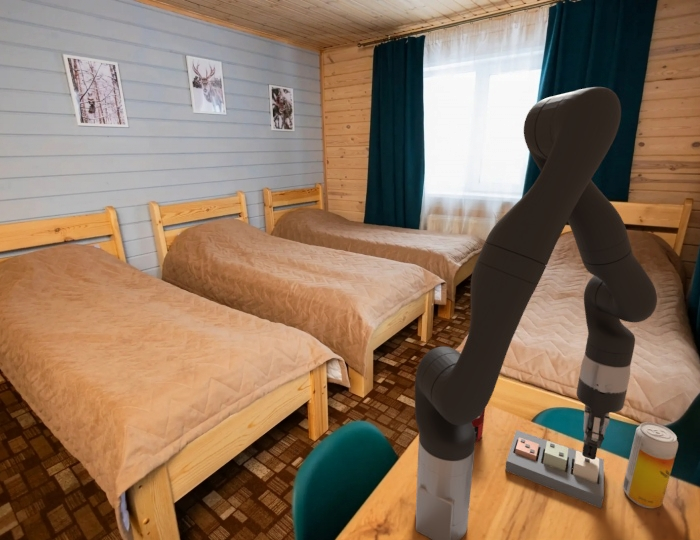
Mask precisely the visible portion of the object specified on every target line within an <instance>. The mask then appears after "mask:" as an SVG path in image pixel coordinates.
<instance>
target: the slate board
mask: <svg viewBox="0 0 700 540" xmlns="http://www.w3.org/2000/svg"><path fill="white" fill-rule="evenodd" d="M519 437H520V438H523V439H526V440H528V441H531V442H534V443H537V444H539V447H538V454H537V458H538V459H537V460H536V461H534V460H531V459H529V458H526V457H523V456H520V455H518V454H515V451H516V446H517V443H518V440H519ZM547 441H549V442H552V443H555V444H558V445H561V446H564V447H567V448H568V456H567V463H566V471H565V472H564V471H562V470H559V469H556V468H553V467H551V466H548V465H545V464H543V459H544V454H545V449H546V444H547ZM576 451H579V452H581V451H580V450H576V449H574V448H571V447H568V446H566V445H562V444H559V443H556V442H553V441H550V440H548V439H544V438H541V437H538V436H536V435H532V434H530V433H526V432H523V431H522V430H518V429H516V430H515V433H514V436H513V440H512V442H511V445H510V448H509V452H508V454H507V458H506V460H505V461H506V462H505V471H506V472H509V473H511V474H513V475H516V476H518V477H521V478H523V479H524V480H525V479H526V480H528V481H530V482H533V483H536V484H538V485H541V486H544V487H547V488H549V489H552V490H554V491H556V492H558V493H561V494H564V495H566V496H569V497H572V498H574V499H577V500H579V501H582V502H583V503H586V504H589V505H590V506H591V505H592V506H595V507H596V508H600V509H602V507H603V502H604V501H603V500H604V481H605V480H604V478H605V477H604V472H605V471H604V468H605V467H604V466H605V465H604V463H605V462H604V461H605V459H603V458H601V457H599V456H596V457H597V458H599V474H598V479H597V483H594V482H592V481H589V480H586V479H583V478H581V477H578V476H575V475H573V473H572V470H573V468H574V460H575V454H576Z"/></svg>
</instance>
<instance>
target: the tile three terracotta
mask: <svg viewBox="0 0 700 540" xmlns="http://www.w3.org/2000/svg"><path fill="white" fill-rule="evenodd" d="M538 447H539V444H537V443H534V442H531V441H528V440H526V439H523V438H520V437H519V440H518V443H517V446H516V450H515V454H518V455H520V456H523V457H526V458H529V459H531V460H534V461H537V460H538V459H537V458H538V456H537V454H538Z"/></svg>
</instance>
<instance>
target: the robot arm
mask: <svg viewBox="0 0 700 540" xmlns="http://www.w3.org/2000/svg"><path fill="white" fill-rule="evenodd" d="M621 118H622V107H621V102H620V99H619V97H618V95H617V94H616V92H614V91H613V90H612V89H610V88H607V87H602V86H593V87H586V88H582V89H581V88H580V89H576V90H573V91H569V92H565V93H561V94H557V95H553V96H552V95H551V96H549V97H546V98H544V99H541V100H539V101H537V102H536V103H534V105H533V106H532V107H531V108H530V109H529V111H528V113H527V115H526V117H525V120H524V124H523V137H524V141H525V142H524V143H525V144H526V146H527V147H526V148H527V149H528V151H529V153H530V155H531V157H532V158H533V161H534V162H535V164H536V165H537V167H538V169H539V171H540V173H539V175H538V177H537V178H536V180H535V181H534V183H533V184H532V186H531V187H530V189H529V190H528V191H527V192H526V193H525V194H524V195H523V196H522V197H521V198H520V199H519V200H518V201H517V202H516V203H515V204H514V205H513V206H512V207H511V208H510V209H509V210H508V211H507V212H506V213H505V214H504V215H503V216H502V217H501V218H500V219H499V220H498V222H497V223H496V224H495V225H494V226H493V227H492V229H491V230H490V232H489V234H488V235H487V237H486V239H485V241H484V243H483V246H482V247H481V251H480V252H479V255H478V256H477V259H476V261H475V264H474V266H473V270H472V274H471V278H470V279H471V280H470V321H469V329H468V334H467V338H466V340H465V343H464V345H463V348H462V350H461V352H460V351H458V350H456V349H455V348H453V347H450V346H438V347H434V348H432V349H430V350H428V352H426V353H425V354H424V355H423V357H422V358H421V360H420V361H419V363H418V365H417V369H416V372H415V378H414V415H415V417H414V418H415V421H416V426H417V429H418V447H417V448H418V449H417V473H416V474H417V475H416V492H415V493H416V496H415V497H416V499H415V531H416V532H417V533H419V534H421V535H423V536H425V537H426V538H429V539H431V540H461V539H462V538H464V536H465V535H466V533H467V530H468V524H469V523H468V522H469V521H468V520H469V514H470V513H469V511H470V501H471V492H472V491H471V490H472V482H473V480H472V478H473V471H474V470H473V469H474V460H475V450H476V449H475V448H476V442H475V438H476V435H475V430H474V427H473V425H472V423H471V422H472V421H474V420H475V419H476V418H477V417H478V416H479V415H480V414H481V413H482V412H483V410H484V409H485V410H486V408H487V406H488V404H489V402H490V400H491V398H492V396H493V393H494V391H495V388H496V385H497V383H498V380H499V376H500V374H501V370H502V367H503V365H504V362H505V358H506V356H507V353H508V350H509V348H510V345H511V343H512V340H513V338H514V335H515V333H516V331H517V329H518V327H519V324H520V322H521V320H522V317H523V315H524V313H525V310H526V308H527V307H528V305H529V303H530V301H531V298H532V296H533V294H534V292H535V291H536V289H537V287H538V284H539V282H540V280H541V279H542V276H543V274H544V273H545V270H546V269H547V266H548V263H549V261H550V259H551V256H552V253H553V251H554V250H555V247H556V246H557V243H558V241H559V239H560V237H561V235H562V232H563V231H564V229H565V227H566V225H567V223H568V225H569V227H570V230H571V232H572V235H573V237H574V238H573V239H574V240H575V244H576V247H577V249H578V252H579V256H580V259H581V261H582V263H583V265H584V266H583V267H584V268H585V269H586V271H587V272H588V273H590V274H591V275H592V277H591V278H590V279H589V281H588V282H587V284H586V286H585V288H584V293H583V306H584V313H585V321H586V327H587V332H588V333H587V338H586V345H585V351H584V355H583V358H582V361H581V364H580V370H579V377H578V383H577V388H576V397H577V399H578V400H579V401H580V402H581V403H582V404H583V405H584V414H583V429H582V430H583V432H584V433H583V434H584V436H583V445H582V451H581V452H582V455H583V456H584V457H587V458H590V459H595V458H596V457H597V453H598V449H600V448H601V447H602V443H603V442H604V440H605V436H606V435H605V434H606V431H607V427H609V425H610V413H612V414H613V413H617V412H620V411H622V410H623V409H624V406H625V401H626V396H627V392H628V387H629V383H630V377H631V364H632V359H633V355H634V351H635V346H636V337H635V335H634V334H633V332H632V331H631V330H630V329H629V328H628V327H626V325H624V324H623V323H622V321H624V322H628V323H640V322H644V321H646V320H647V319H649V318H650V317H651V316H652V315H653V313H654V312H655V310H656V308H657V305H658V304H657V303H658V295H657V290H656V288H655V285H654V283H653V282H652V280H651V278H650V277H649V275H648V273H647V271H645V269H644V268H643V266H642V265H641V263H640V262H639V261H638V259H637V258H636V256H635V255H634V253H633V250H632V246H631V245H632V244H631V242H630V239H629V234H628V232H627V228H626V225H625V221H624V220H623V219H622V216H621V215H620V213H619V212H618V210H617V209H616V207H615V206H614V205H613V204H612V203H611V201H610V200H609V199H608V198H607V197H606V196H605V195H604V194H603V192H602V191H601V190H600V189H599V188H598V186H597V185H596V184H595V183H594V182H593V180H592V178H594V174H595V173H596V171H597V170H598V169H599V167H600V166H601V163H602V162H603V160H604V159H605V157H606V155H607V154H608V151H610V148H611V146H612V145H613V142H614V140H615V138H616V136H617V133H618V131H619V127H620V123H621Z"/></svg>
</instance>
